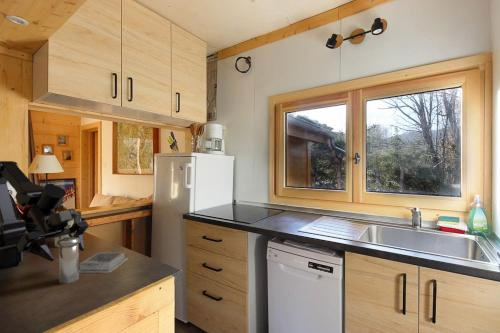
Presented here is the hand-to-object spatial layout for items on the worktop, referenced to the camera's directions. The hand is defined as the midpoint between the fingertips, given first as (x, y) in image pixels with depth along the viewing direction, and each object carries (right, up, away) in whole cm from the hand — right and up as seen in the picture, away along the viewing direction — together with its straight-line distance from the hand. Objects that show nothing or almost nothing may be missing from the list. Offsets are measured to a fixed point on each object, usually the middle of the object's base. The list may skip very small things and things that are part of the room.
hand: (68, 255), depth 78 cm
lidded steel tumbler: (0, -8, 0) cm, 8 cm away
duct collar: (+4, -8, +11) cm, 14 cm away
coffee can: (-27, -8, +36) cm, 46 cm away
